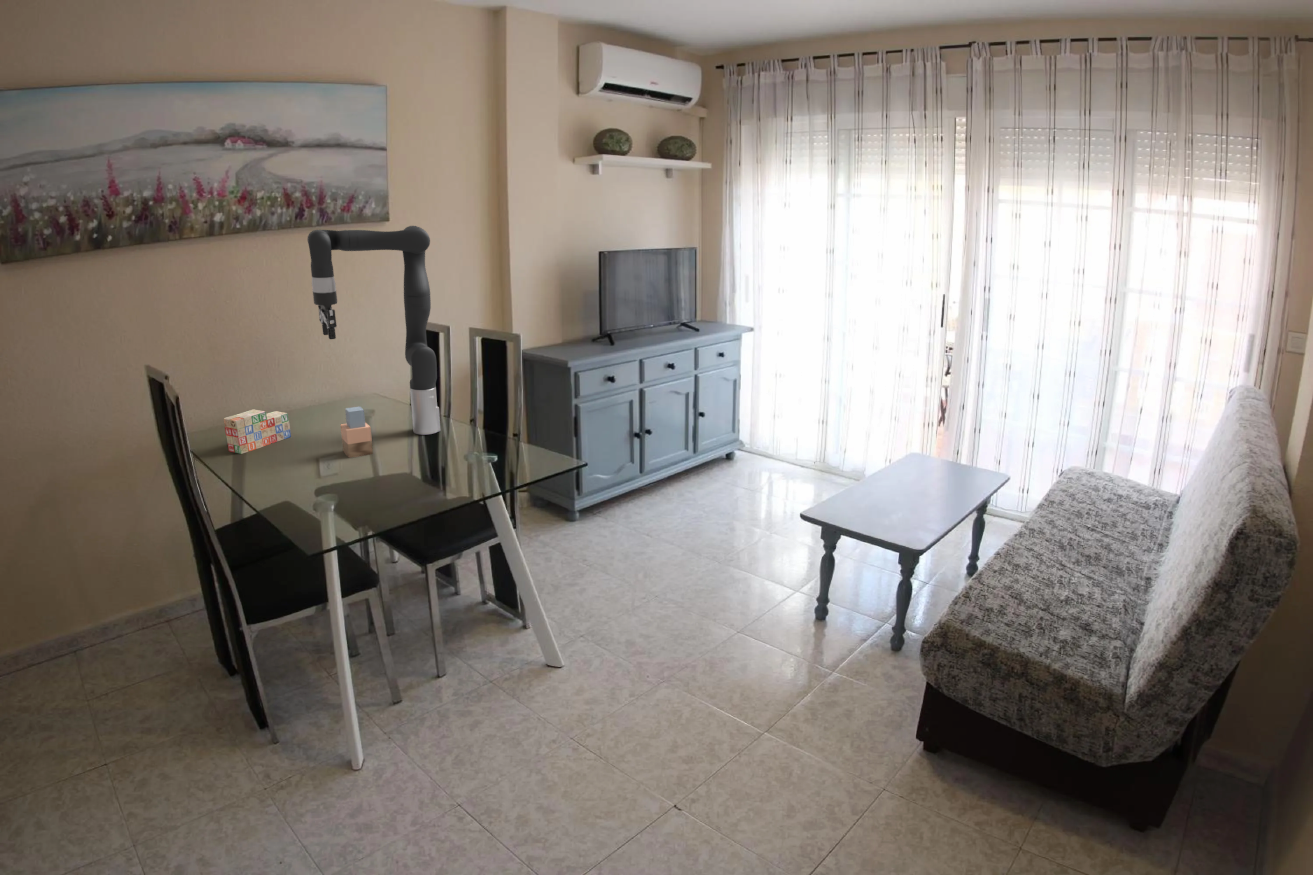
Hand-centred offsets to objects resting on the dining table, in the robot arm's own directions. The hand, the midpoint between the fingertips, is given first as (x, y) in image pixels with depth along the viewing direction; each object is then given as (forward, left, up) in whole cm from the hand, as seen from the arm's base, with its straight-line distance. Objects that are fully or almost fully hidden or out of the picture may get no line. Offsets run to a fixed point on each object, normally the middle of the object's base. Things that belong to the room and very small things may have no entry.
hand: (329, 336), depth 281 cm
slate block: (-2, +17, -28) cm, 33 cm away
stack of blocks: (+25, -10, -38) cm, 47 cm away
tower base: (-2, +17, -38) cm, 42 cm away
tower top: (-2, +17, -33) cm, 37 cm away
